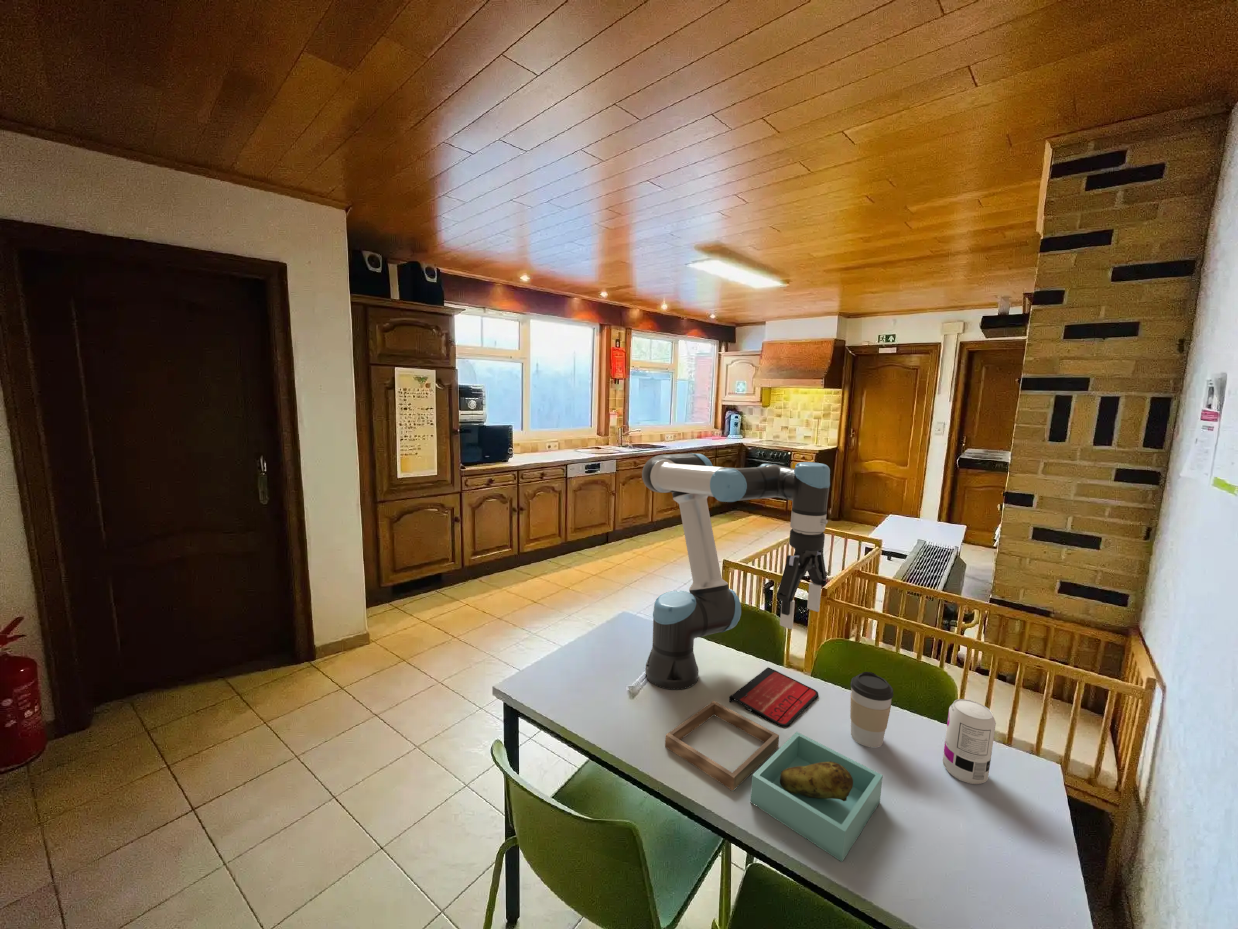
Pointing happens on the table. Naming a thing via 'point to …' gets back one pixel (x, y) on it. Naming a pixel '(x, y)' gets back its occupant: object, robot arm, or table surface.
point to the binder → (775, 697)
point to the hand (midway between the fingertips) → (800, 618)
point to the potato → (818, 781)
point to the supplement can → (969, 741)
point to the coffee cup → (869, 708)
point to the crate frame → (711, 766)
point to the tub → (812, 817)
